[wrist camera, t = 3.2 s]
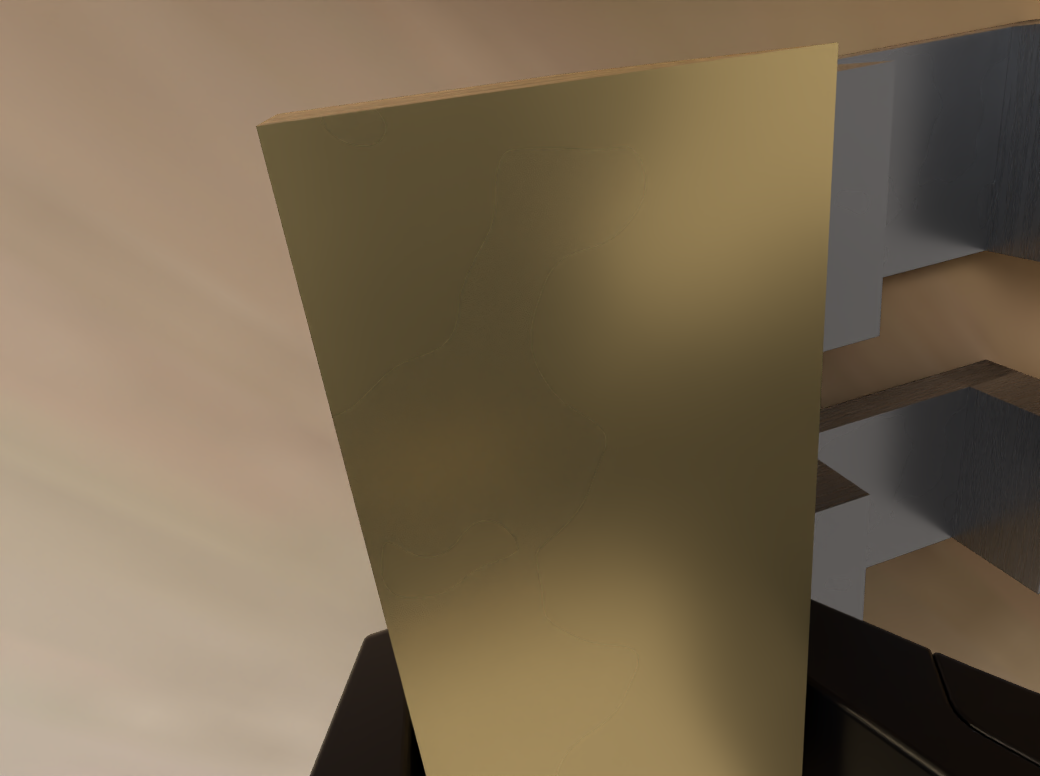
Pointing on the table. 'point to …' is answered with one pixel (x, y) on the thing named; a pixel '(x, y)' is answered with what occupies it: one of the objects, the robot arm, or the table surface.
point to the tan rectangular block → (580, 400)
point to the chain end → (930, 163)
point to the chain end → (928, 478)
